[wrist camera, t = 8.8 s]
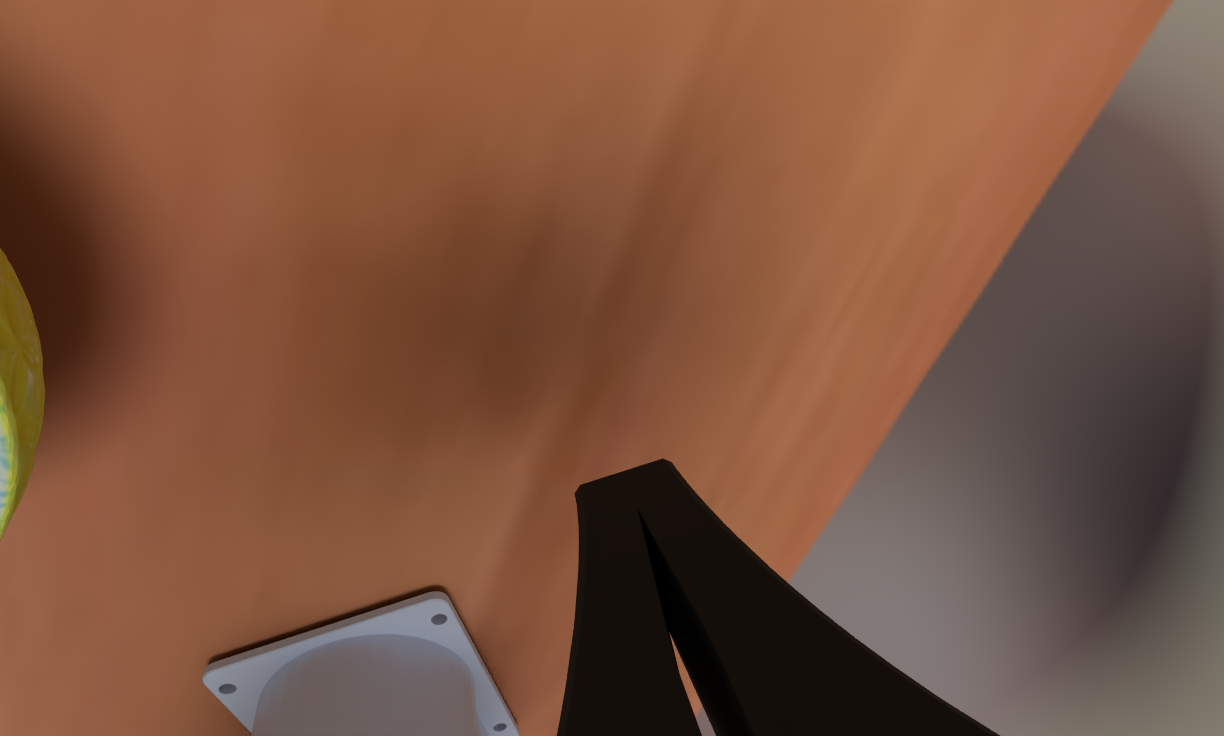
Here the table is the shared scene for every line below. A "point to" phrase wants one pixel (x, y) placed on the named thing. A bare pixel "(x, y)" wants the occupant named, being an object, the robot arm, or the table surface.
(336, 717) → the robot arm
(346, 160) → the table surface
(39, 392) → the bowl
